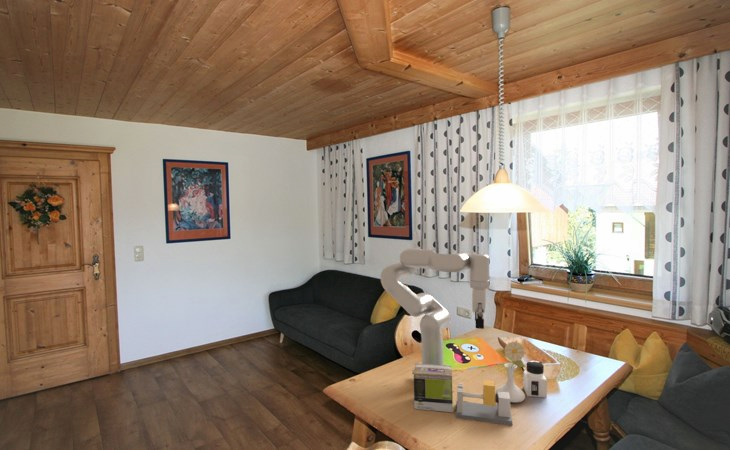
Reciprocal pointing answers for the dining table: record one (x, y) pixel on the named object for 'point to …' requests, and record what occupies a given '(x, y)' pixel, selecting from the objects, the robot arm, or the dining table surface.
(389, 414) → the dining table surface
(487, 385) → the sleeve
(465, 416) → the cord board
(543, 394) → the container
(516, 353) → the flower in vase
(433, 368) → the tea box
